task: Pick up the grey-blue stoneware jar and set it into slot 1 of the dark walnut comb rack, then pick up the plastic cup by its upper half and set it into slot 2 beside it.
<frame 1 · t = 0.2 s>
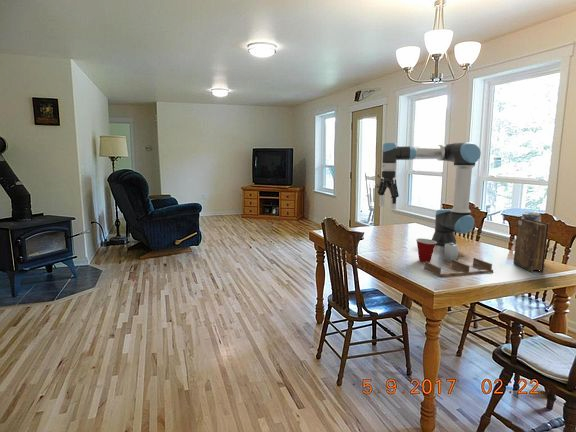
hand: (387, 207, 215), 28 cm above the table, fingers open, 13 cm apart
comb rack: (457, 270, 190), on the table
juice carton: (527, 259, 210), on the table
stoneware jar: (450, 260, 207), on the table
plastic cup: (425, 261, 205), on the table
book: (527, 268, 194), on the table
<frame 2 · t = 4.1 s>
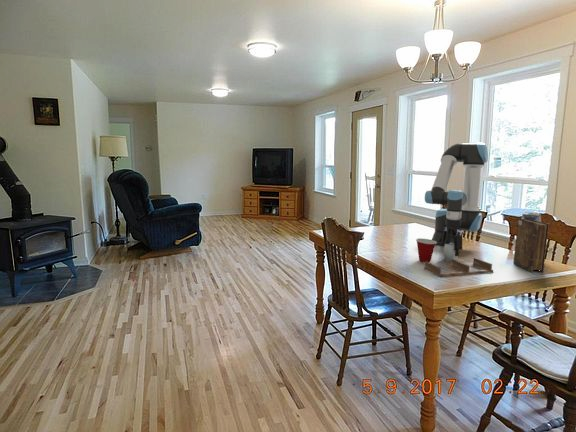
hand: (450, 259, 207), 1 cm above the table, fingers closed on stoneware jar, 7 cm apart
stoneware jar: (450, 260, 207), on the table, touching gripper
everything else where it was.
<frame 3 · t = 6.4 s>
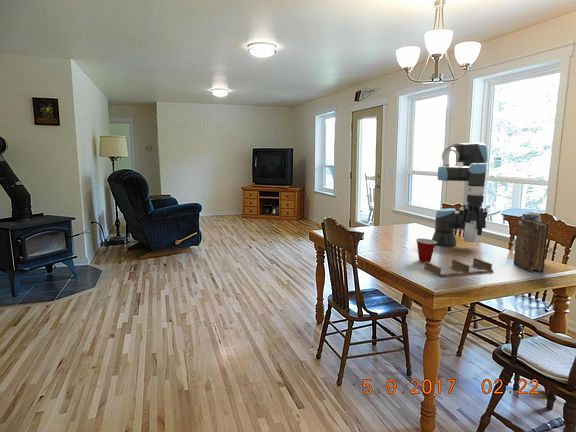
hand: (471, 239, 190), 15 cm above the table, fingers closed on stoneware jar, 7 cm apart
stoneware jar: (471, 240, 190), point 15 cm above the table, touching gripper
everything else where it was.
when the fingers open (2 cm above the table, at t = 8.7 s): stoneware jar drops 2 cm, on the table.
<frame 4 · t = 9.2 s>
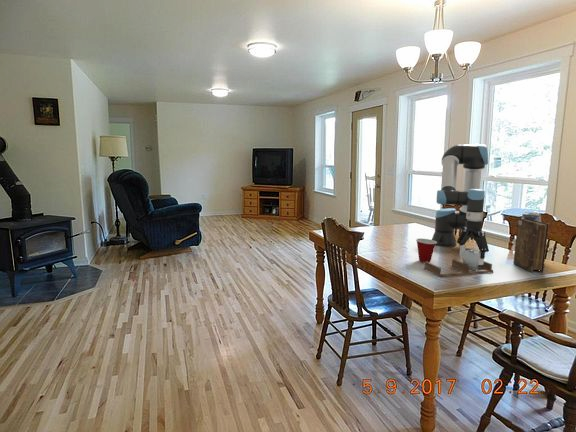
hand: (470, 261, 191), 4 cm above the table, fingers open, 13 cm apart
stoneware jar: (470, 268, 192), on the table
everything else where it was.
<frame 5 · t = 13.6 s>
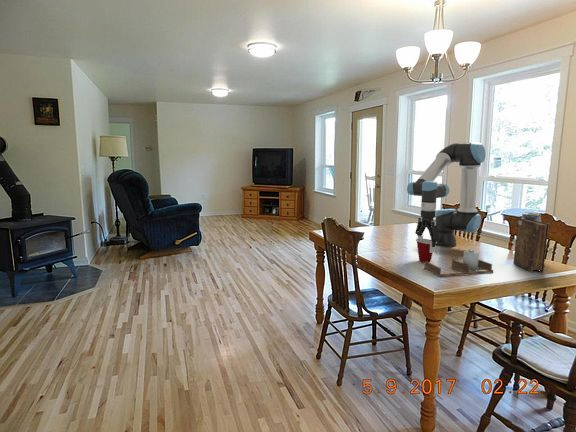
hand: (425, 249, 204), 7 cm above the table, fingers closed on plastic cup, 11 cm apart
plastic cup: (425, 261, 205), on the table, touching gripper
everything else where it was.
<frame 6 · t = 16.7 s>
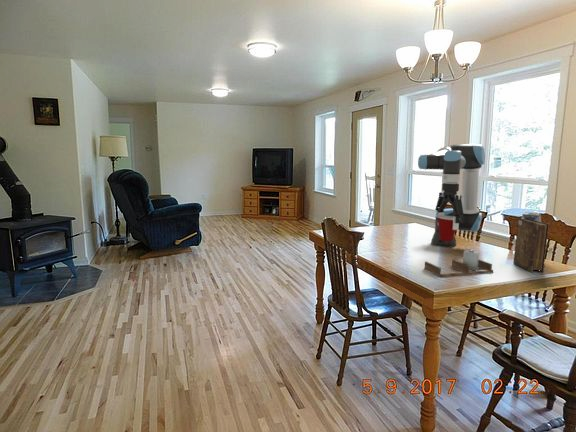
hand: (447, 227, 185), 22 cm above the table, fingers closed on plastic cup, 11 cm apart
plastic cup: (446, 240, 186), point 16 cm above the table, touching gripper
everything else where it was.
when the fingers open (8 cm above the table, at t = 19.8 s): plastic cup drops 1 cm, on the table.
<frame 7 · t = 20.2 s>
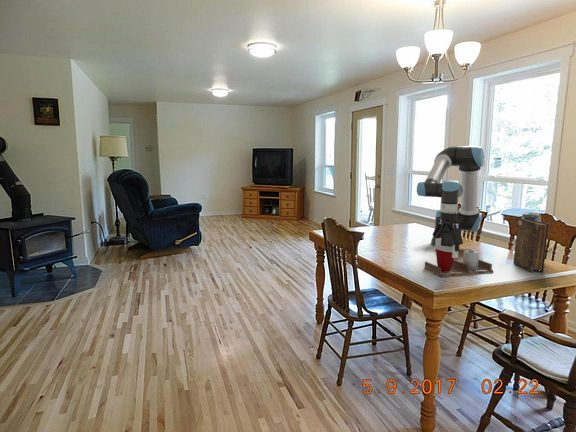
hand: (445, 253, 188), 9 cm above the table, fingers open, 13 cm apart
plastic cup: (444, 271, 189), on the table
everything else where it was.
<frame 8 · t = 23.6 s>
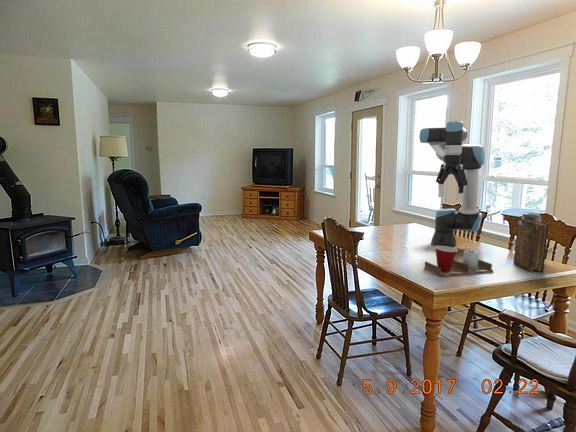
hand: (449, 198, 183), 37 cm above the table, fingers open, 13 cm apart
nothing on the table moved.
at the end: stoneware jar inside the target area (0.4 cm from its centre), on the table; plastic cup inside the target area (0.6 cm from its centre), on the table; plastic cup tilted 0° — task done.
